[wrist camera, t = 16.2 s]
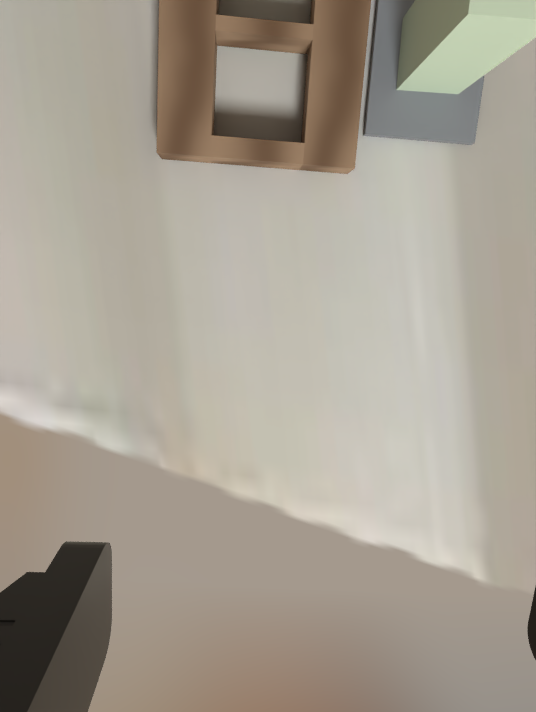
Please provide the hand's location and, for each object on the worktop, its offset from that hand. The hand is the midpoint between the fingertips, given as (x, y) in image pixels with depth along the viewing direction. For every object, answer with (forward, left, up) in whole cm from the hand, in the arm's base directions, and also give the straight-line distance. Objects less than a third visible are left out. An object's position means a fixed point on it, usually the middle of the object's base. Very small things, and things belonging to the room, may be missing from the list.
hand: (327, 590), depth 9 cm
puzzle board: (-1, +22, -33) cm, 40 cm away
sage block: (+12, +22, -32) cm, 41 cm away
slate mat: (+12, +22, -33) cm, 42 cm away
